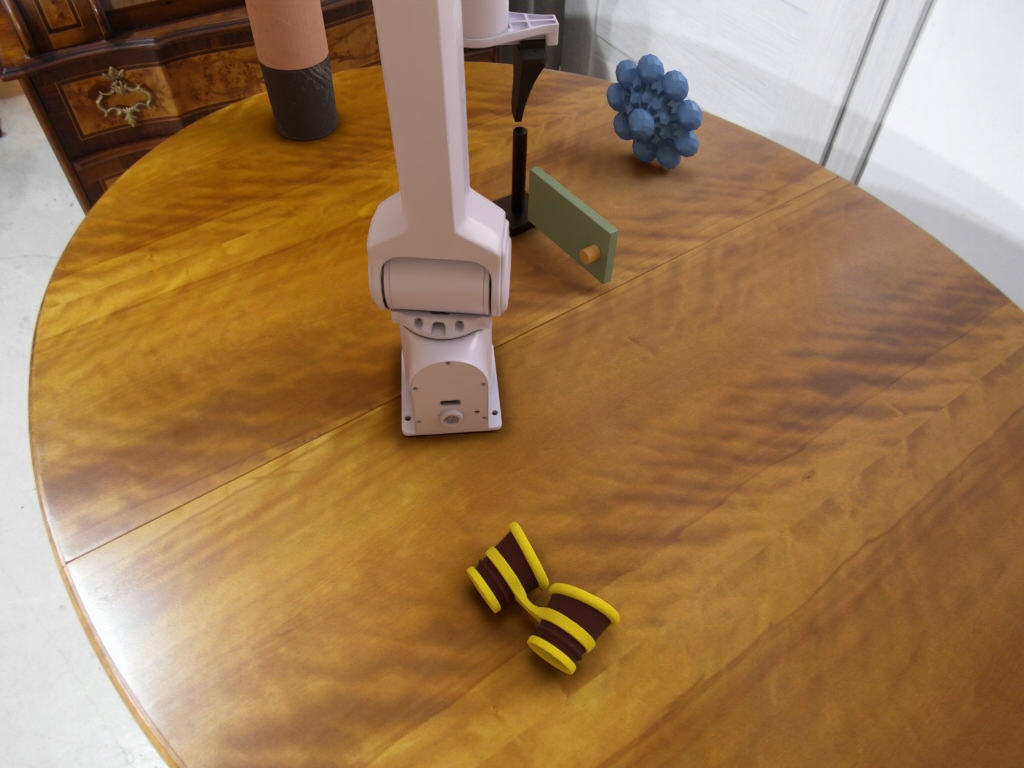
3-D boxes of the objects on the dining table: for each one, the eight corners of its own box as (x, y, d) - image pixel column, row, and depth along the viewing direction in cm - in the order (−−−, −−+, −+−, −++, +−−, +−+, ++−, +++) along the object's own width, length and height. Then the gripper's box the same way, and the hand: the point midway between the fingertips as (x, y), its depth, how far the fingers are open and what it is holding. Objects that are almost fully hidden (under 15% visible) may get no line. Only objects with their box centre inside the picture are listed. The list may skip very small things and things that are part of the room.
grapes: (581, 160, 88) (591, 58, 79) (612, 135, 92) (625, 34, 83) (672, 197, 84) (694, 93, 75) (701, 169, 87) (724, 66, 78)
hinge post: (484, 212, 81) (483, 126, 74) (522, 196, 83) (525, 110, 76) (512, 237, 79) (514, 150, 71) (551, 220, 81) (557, 134, 73)
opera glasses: (466, 589, 54) (453, 565, 50) (518, 536, 56) (510, 508, 52) (568, 689, 50) (563, 672, 46) (622, 628, 51) (622, 606, 47)
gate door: (516, 224, 78) (517, 173, 74) (535, 216, 79) (537, 165, 75) (591, 291, 72) (598, 239, 67) (611, 281, 73) (619, 229, 68)
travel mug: (319, 101, 95) (286, -78, 80) (352, 127, 92) (324, -56, 76) (263, 121, 92) (217, -62, 77) (295, 149, 88) (254, -37, 73)
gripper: (551, -52, 68) (543, 93, 78) (384, -45, 66) (399, 103, 77) (567, -19, 63) (557, 131, 74) (389, -11, 62) (404, 142, 72)
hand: (477, 119), depth 75 cm, fingers open, 7 cm apart
